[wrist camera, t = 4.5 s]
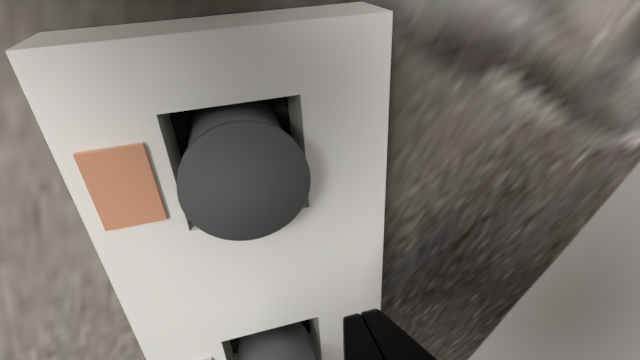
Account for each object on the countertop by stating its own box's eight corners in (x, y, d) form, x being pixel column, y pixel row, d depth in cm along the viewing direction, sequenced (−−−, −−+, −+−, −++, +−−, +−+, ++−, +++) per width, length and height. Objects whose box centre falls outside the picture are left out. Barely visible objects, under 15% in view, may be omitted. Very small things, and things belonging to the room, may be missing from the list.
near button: (291, 172, 19) (314, 226, 15) (193, 189, 18) (193, 252, 14) (281, 78, 17) (306, 116, 13) (168, 93, 16) (160, 138, 12)
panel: (361, 342, 28) (378, 384, 25) (184, 391, 25) (183, 444, 23) (362, 1, 16) (395, 11, 13) (39, 32, 14) (2, 52, 11)
